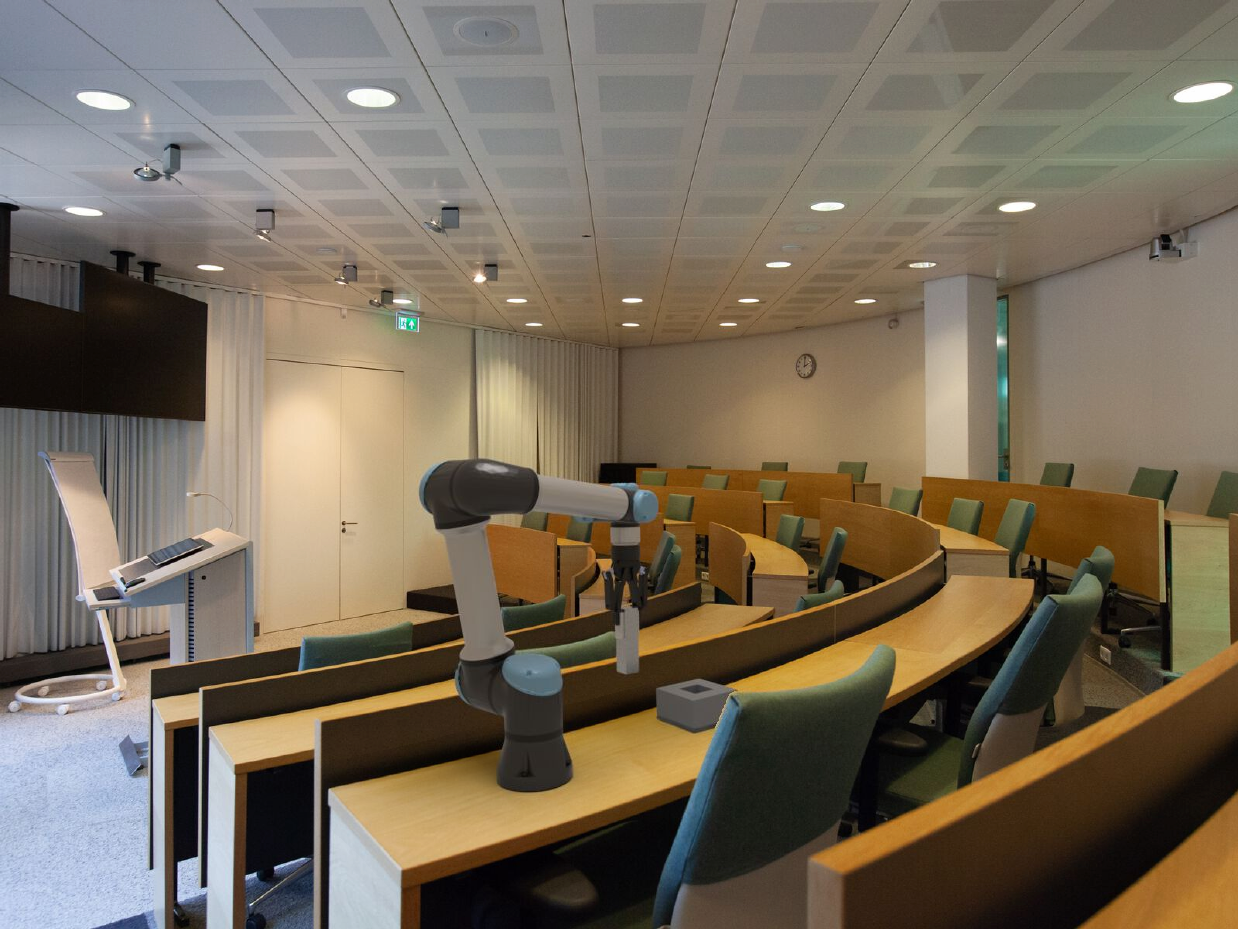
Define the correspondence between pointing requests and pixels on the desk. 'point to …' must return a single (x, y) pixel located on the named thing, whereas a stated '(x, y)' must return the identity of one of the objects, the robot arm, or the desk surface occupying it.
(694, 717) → the slate well
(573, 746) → the desk surface
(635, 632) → the grey metal bar
